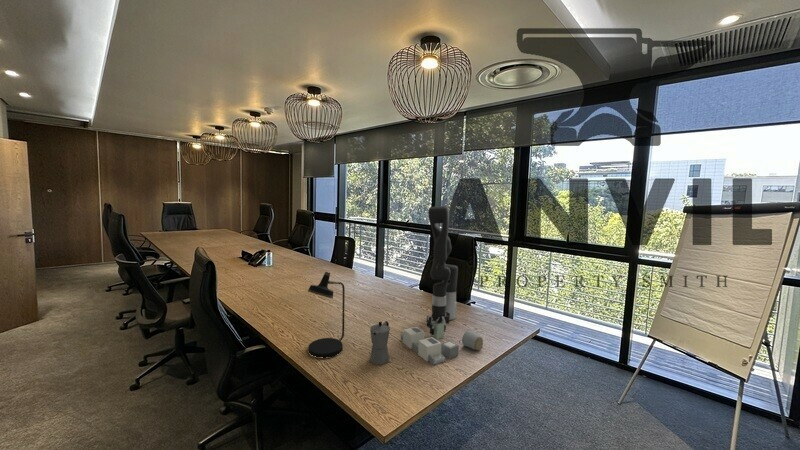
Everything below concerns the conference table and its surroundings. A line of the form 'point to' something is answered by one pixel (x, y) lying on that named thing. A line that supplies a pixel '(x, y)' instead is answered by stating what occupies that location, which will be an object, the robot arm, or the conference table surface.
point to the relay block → (449, 349)
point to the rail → (431, 359)
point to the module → (439, 330)
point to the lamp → (335, 346)
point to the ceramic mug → (472, 340)
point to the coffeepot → (379, 343)
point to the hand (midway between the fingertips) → (437, 332)
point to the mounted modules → (421, 342)
